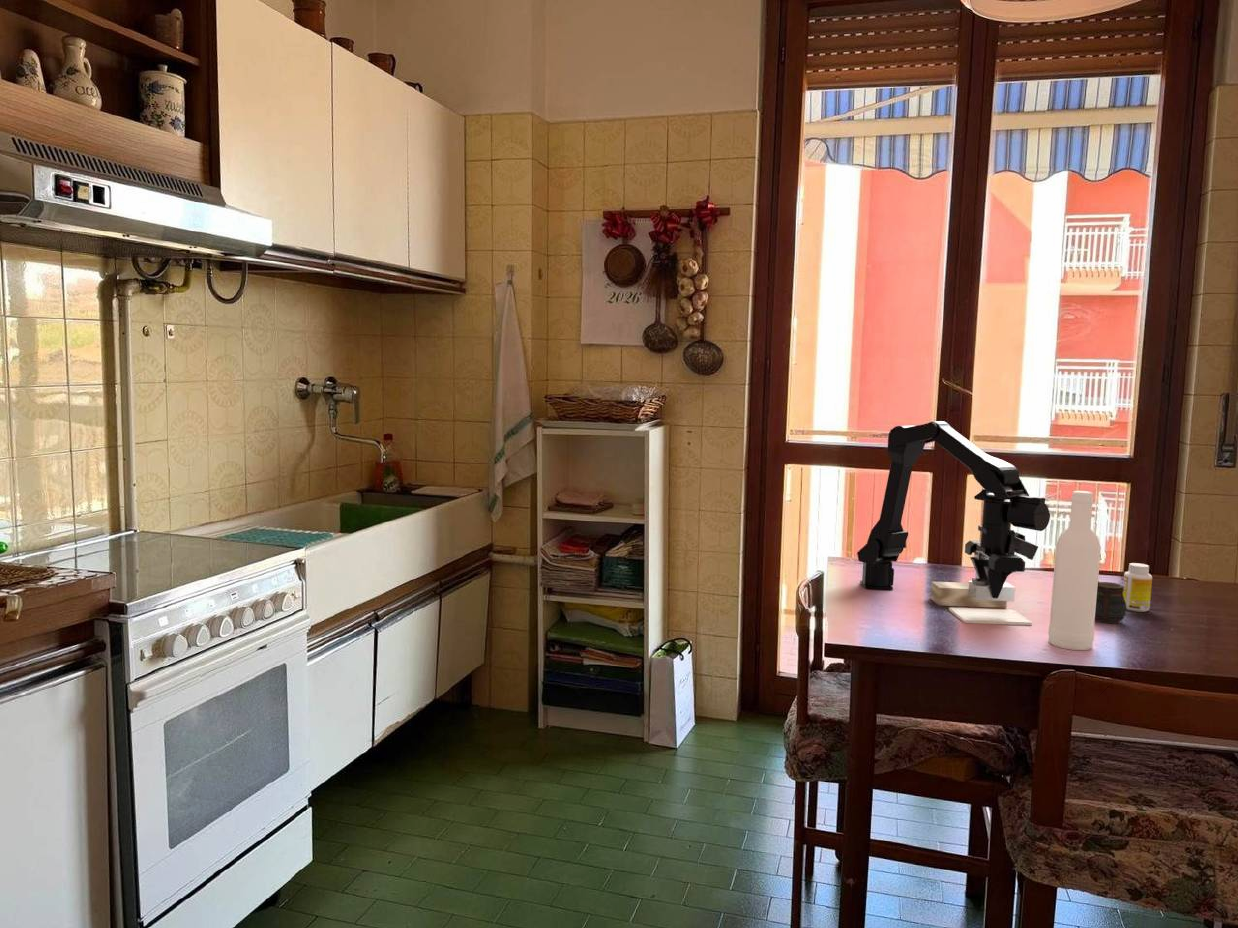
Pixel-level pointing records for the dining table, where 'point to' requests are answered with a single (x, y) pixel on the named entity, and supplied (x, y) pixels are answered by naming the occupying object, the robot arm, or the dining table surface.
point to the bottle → (1075, 579)
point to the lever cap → (982, 591)
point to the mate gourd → (1110, 602)
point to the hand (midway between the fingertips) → (990, 595)
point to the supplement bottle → (1137, 587)
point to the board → (990, 616)
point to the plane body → (958, 596)
